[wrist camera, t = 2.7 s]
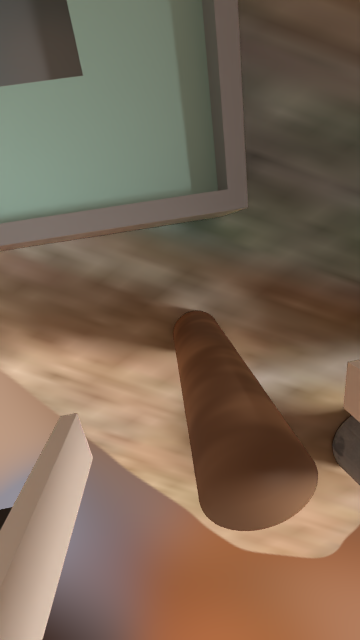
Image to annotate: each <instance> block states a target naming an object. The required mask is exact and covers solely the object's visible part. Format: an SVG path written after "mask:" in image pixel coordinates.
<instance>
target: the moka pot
mask: <svg viewBox="0 0 360 640" xmlns="http://www.w3.org/2000/svg"><path fill="white" fill-rule="evenodd" d="M333 453H334V456H335V459H336V461H337V463H338V464H339V465H340V466H341V467H342V468H343V469H344V470H345V471H346V472H347V473H348V474H349V475H350V476H351V477H352V478H353V479H354V480H355V481H356V482H357V483H358V484H359V485H360V422H359V421H358V420H356V419H355V418H354V417H353V416H350V417H349V418H348V419H347V420H346V421H345V422H344V423H343V424H342V425H341V426H340V428H339V429H338V431H337V432H336V434H335V437H334V440H333Z"/></svg>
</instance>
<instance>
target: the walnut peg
mask: <svg viewBox="0 0 360 640" xmlns="http://www.w3.org/2000/svg"><path fill="white" fill-rule="evenodd" d="M173 337H174V344H175V350H176V356H177V363H178V369H179V375H180V382H181V388H182V394H183V401H184V407H185V413H186V420H187V426H188V432H189V439H190V445H191V451H192V458H193V464H194V470H195V477H196V483H197V489H198V496H199V502H200V506H201V508H202V510H203V512H204V513H205V515H206V516H207V517H208V518H209V519H210V520H211V521H213V522H214V523H215V524H217V525H219V526H221V527H224V528H227V529H231V530H238V531H254V530H260V529H265V528H269V527H272V526H275V525H277V524H280V523H282V522H284V521H286V520H288V519H289V518H291V517H292V516H294V515H295V514H297V513H298V512H299V511H300V510H301V509H302V508H303V507H304V506H305V505H306V504H307V503H308V502H309V500H310V499H311V497H312V496H313V494H314V492H315V490H316V486H317V482H318V471H317V467H316V465H315V462H314V461H313V459H312V458H311V456H310V455H309V454H308V452H307V451H306V449H305V448H304V446H303V445H302V444H301V442H300V441H299V439H298V438H297V436H296V435H295V434H294V432H293V431H292V429H291V428H290V426H289V425H288V424H287V422H286V421H285V419H284V418H283V416H282V415H281V414H280V412H279V411H278V409H277V408H276V406H275V405H274V403H273V402H272V401H271V399H270V398H269V396H268V395H267V393H266V392H265V391H264V389H263V388H262V386H261V385H260V383H259V382H258V381H257V379H256V378H255V376H254V375H253V373H252V372H251V371H250V369H249V368H248V366H247V365H246V363H245V362H244V361H243V359H242V358H241V356H240V355H239V353H238V352H237V351H236V349H235V348H234V346H233V345H232V343H231V342H230V341H229V339H228V338H227V336H226V335H225V333H224V332H223V331H222V329H221V328H220V326H219V325H218V323H217V322H216V321H215V319H214V318H213V317H212V316H211V315H210V314H208V313H206V312H203V311H191V312H188V313H186V314H184V315H183V316H181V317H180V318H179V319H178V321H177V322H176V324H175V326H174V330H173Z"/></svg>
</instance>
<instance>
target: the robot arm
mask: <svg viewBox="0 0 360 640" xmlns="http://www.w3.org/2000/svg"><path fill="white" fill-rule="evenodd" d="M343 408H344V409H345V410H346V411H347V412H349V413H350V414H351V415H352V416H353V417H354V418H355V419H356V420H358V421H359V422H360V360H355V361H350V362H348V364H347V375H346V386H345V396H344V407H343ZM92 459H93V456H92V454H91V451H90V448H89V445H88V442H87V439H86V437H85V434H84V431H83V428H82V425H81V423H80V420H79V417H78V414H77V413H74V414H69V415H64V416H60V418H59V420H58V422H57V424H56V425H55V427H54V429H53V431H52V433H51V435H50V437H49V439H48V441H47V443H46V444H45V447H44V448H43V450H42V452H41V454H40V456H39V458H38V460H37V462H36V464H35V465H34V467H33V469H32V471H31V473H30V475H29V477H28V479H27V481H26V482H25V484H24V486H23V488H22V490H21V492H20V494H19V496H18V498H17V500H16V501H15V503H14V506H13V507H11V508H6V509H1V510H0V640H42V639H43V635H44V632H45V628H46V625H47V621H48V617H49V614H50V610H51V606H52V603H53V599H54V596H55V592H56V589H57V585H58V581H59V578H60V574H61V571H62V567H63V563H64V560H65V556H66V553H67V549H68V545H69V541H70V538H71V535H72V531H73V528H74V524H75V520H76V516H77V513H78V510H79V506H80V502H81V499H82V495H83V491H84V488H85V484H86V480H87V477H88V474H89V470H90V466H91V463H92Z"/></svg>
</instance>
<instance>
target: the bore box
mask: <svg viewBox="0 0 360 640" xmlns="http://www.w3.org/2000/svg"><path fill="white" fill-rule="evenodd" d="M246 208H248V195H247V175H246V154H245V134H244V114H243V94H242V74H241V53H240V33H239V13H238V0H0V251H4V250H11V249H17V248H24V247H30V246H37V245H43V244H50V243H56V242H63V241H69V240H75V239H82V238H88V237H95V236H101V235H108V234H114V233H121V232H127V231H133V230H140V229H146V228H153V227H159V226H166V225H172V224H179V223H185V222H192V221H198V220H204V219H211V218H217V217H222V216H225V215H228V214H231V213H234V212H237V211H240V210H243V209H246Z"/></svg>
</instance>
